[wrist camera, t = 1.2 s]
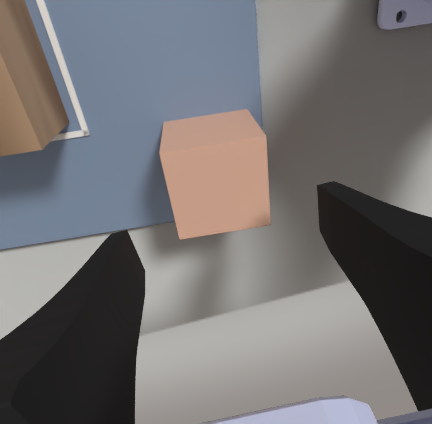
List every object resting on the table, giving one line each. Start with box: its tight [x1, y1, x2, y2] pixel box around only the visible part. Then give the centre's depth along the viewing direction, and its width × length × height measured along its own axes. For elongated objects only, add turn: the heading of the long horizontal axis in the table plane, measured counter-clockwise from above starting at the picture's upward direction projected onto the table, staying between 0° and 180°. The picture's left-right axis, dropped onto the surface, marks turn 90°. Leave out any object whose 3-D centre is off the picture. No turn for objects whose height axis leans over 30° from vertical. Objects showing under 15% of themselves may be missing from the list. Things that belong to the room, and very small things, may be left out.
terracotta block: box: [159, 109, 271, 240], centre depth 17 cm, size 4×4×4 cm
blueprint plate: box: [0, 0, 263, 249], centre depth 17 cm, size 18×14×1 cm
